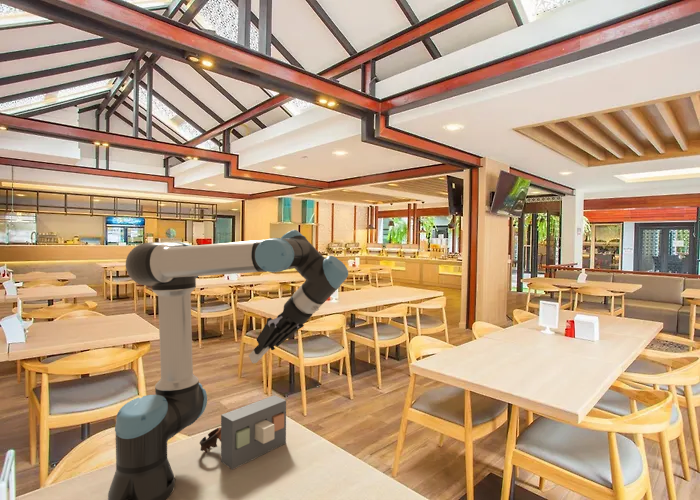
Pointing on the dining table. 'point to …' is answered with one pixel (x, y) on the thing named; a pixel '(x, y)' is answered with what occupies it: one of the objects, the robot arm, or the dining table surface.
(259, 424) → the ivory button
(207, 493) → the dining table surface
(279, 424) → the terracotta button
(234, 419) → the console
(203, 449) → the pottery mug
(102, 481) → the dining table surface
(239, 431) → the sage button
